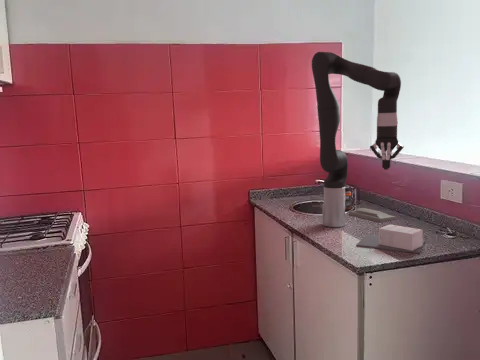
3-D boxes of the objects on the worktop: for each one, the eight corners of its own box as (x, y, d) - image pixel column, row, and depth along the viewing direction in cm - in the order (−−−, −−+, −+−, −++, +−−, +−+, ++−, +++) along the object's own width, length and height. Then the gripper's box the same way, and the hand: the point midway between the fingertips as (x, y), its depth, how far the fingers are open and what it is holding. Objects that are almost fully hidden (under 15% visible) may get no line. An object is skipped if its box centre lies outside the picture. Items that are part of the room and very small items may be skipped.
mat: (356, 246, 168) (356, 244, 168) (366, 235, 182) (366, 234, 182) (419, 253, 157) (419, 251, 157) (425, 241, 171) (425, 239, 171)
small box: (378, 244, 167) (412, 251, 158) (378, 228, 166) (412, 233, 157) (389, 240, 173) (422, 246, 163) (389, 224, 172) (422, 229, 162)
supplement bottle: (344, 206, 237) (344, 185, 236) (353, 208, 233) (353, 187, 231) (337, 208, 234) (337, 187, 232) (346, 210, 229) (346, 188, 227)
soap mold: (380, 223, 202) (380, 216, 202) (348, 215, 219) (348, 208, 219) (395, 220, 207) (395, 212, 207) (363, 213, 225) (363, 206, 224)
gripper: (367, 125, 174) (366, 170, 176) (403, 124, 167) (402, 171, 170) (371, 124, 180) (371, 167, 183) (406, 124, 174) (405, 168, 176)
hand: (386, 169), depth 176 cm, fingers closed
